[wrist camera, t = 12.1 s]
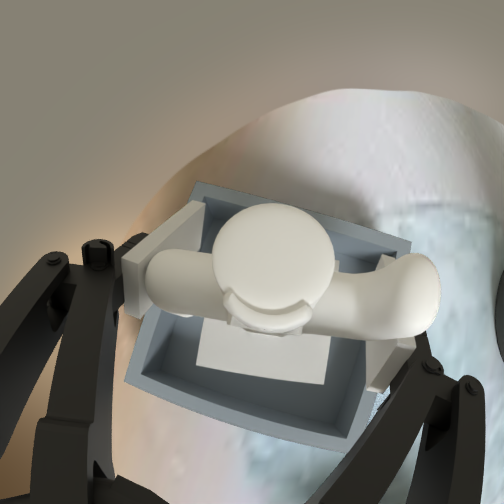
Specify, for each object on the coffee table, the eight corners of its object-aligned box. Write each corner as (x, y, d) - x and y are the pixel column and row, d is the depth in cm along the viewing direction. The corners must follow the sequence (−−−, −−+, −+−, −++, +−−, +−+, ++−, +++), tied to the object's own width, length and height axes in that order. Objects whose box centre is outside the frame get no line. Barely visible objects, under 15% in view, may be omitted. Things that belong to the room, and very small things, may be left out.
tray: (388, 260, 25) (411, 241, 21) (339, 435, 22) (355, 454, 17) (208, 208, 28) (196, 180, 23) (149, 375, 24) (123, 381, 19)
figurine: (210, 257, 23) (128, 119, 8) (343, 276, 22) (452, 161, 8) (191, 358, 21) (57, 373, 6) (330, 379, 20) (444, 435, 6)
